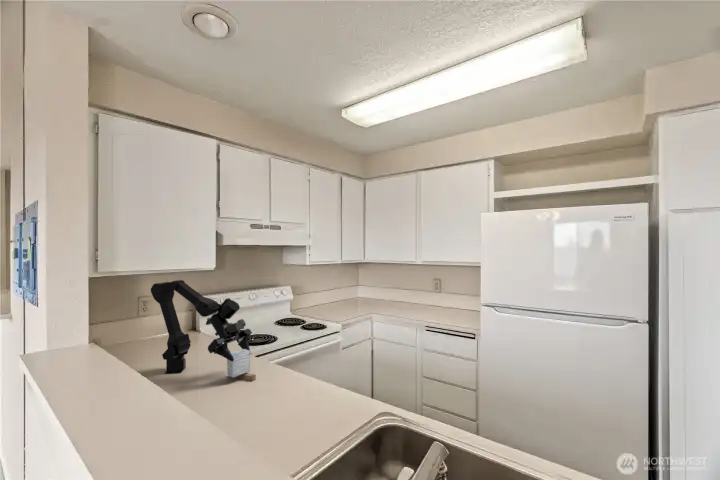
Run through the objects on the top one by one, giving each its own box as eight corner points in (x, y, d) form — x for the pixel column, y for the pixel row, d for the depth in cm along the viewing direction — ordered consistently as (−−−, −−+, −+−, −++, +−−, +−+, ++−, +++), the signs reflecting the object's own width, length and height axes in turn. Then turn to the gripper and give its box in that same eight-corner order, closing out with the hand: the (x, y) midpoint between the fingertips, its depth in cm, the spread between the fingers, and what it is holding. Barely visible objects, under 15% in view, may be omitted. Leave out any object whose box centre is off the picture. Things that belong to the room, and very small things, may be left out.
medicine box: (244, 369, 138) (244, 348, 138) (250, 371, 135) (250, 350, 135) (227, 375, 132) (226, 353, 132) (232, 378, 129) (232, 355, 129)
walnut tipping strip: (229, 377, 137) (229, 371, 137) (233, 375, 139) (233, 369, 139) (252, 382, 132) (252, 376, 132) (255, 381, 133) (255, 374, 133)
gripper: (213, 318, 127) (234, 352, 122) (248, 309, 144) (268, 338, 139) (198, 336, 130) (218, 369, 125) (235, 325, 147) (254, 354, 142)
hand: (241, 357), depth 133 cm, fingers closed on medicine box, 8 cm apart
